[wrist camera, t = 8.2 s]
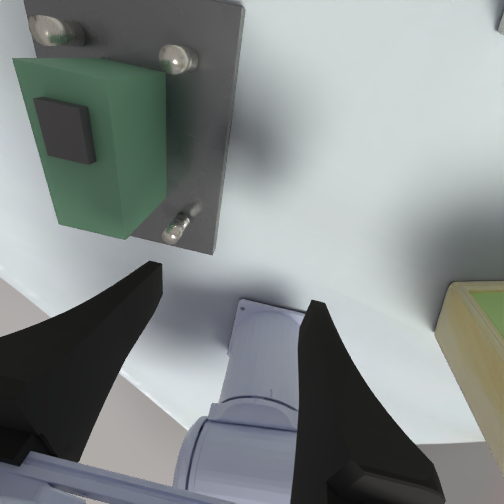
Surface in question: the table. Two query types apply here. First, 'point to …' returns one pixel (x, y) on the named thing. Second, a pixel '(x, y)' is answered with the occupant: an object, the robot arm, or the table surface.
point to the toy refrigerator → (477, 353)
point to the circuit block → (98, 139)
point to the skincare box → (501, 25)
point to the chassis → (177, 91)
